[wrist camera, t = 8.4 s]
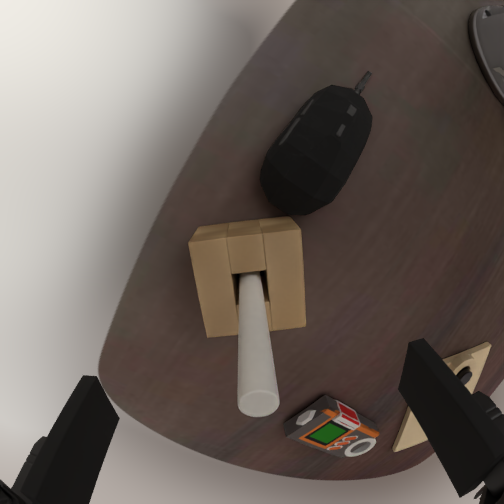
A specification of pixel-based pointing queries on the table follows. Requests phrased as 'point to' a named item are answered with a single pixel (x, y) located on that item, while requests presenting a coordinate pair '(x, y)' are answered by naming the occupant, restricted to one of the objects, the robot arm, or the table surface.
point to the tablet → (470, 359)
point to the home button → (464, 375)
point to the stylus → (255, 351)
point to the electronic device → (332, 428)
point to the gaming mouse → (317, 150)
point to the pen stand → (248, 260)
